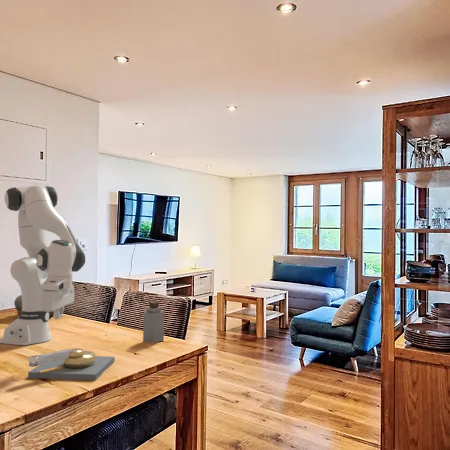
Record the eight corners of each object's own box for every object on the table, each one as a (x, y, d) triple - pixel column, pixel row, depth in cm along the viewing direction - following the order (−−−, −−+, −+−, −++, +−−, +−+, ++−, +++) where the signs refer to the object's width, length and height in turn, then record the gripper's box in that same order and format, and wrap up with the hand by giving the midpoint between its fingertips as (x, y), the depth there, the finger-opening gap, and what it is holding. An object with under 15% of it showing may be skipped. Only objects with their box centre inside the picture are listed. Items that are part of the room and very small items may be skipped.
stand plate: (27, 378, 142) (27, 371, 142) (55, 359, 162) (55, 354, 162) (95, 380, 141) (95, 374, 141) (114, 361, 161) (114, 355, 161)
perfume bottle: (153, 343, 188) (154, 304, 188) (143, 341, 191) (143, 302, 192) (163, 340, 194) (164, 302, 194) (152, 338, 197) (153, 300, 197)
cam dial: (86, 356, 159) (86, 341, 160) (100, 363, 152) (100, 347, 152) (22, 371, 143) (23, 354, 143) (35, 379, 135) (35, 361, 135)
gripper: (64, 278, 167) (62, 312, 167) (38, 285, 147) (36, 324, 147) (79, 279, 167) (77, 313, 167) (55, 286, 146) (53, 325, 146)
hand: (58, 318), depth 157 cm, fingers closed
